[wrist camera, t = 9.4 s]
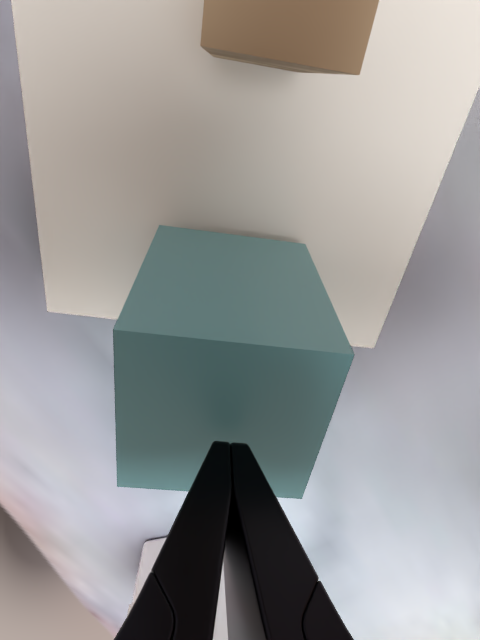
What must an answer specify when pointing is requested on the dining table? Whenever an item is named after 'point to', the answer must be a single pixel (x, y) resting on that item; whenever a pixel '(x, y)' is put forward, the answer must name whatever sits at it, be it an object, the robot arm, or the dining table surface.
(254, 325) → the teal block
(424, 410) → the dining table surface
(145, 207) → the board
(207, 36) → the oak post
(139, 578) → the jar
